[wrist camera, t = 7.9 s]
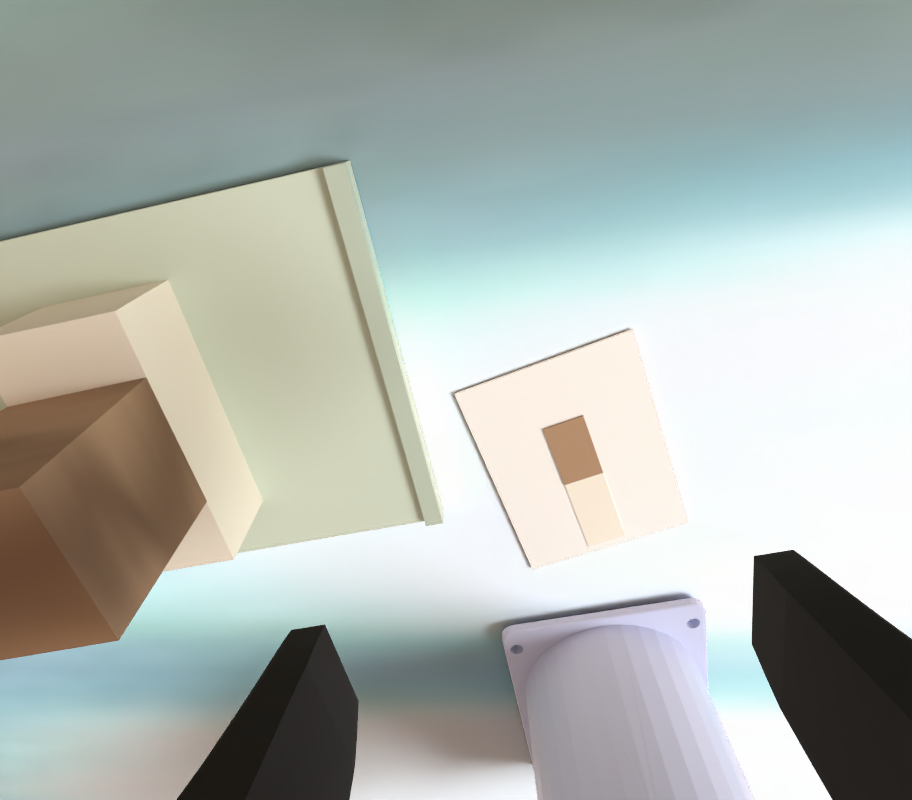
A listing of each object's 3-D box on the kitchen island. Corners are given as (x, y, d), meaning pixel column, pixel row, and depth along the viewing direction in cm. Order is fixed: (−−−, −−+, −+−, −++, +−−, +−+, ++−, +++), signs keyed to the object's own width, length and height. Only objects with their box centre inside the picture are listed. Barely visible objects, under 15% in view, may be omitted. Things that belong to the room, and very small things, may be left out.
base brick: (263, 501, 21) (234, 559, 18) (155, 520, 21) (112, 579, 18) (168, 279, 17) (115, 311, 15) (42, 306, 18) (-32, 342, 15)
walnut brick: (206, 501, 17) (118, 639, 13) (80, 525, 18) (-50, 668, 13) (146, 377, 15) (19, 487, 11) (7, 407, 16) (-171, 524, 11)
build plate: (443, 507, 22) (442, 522, 21) (88, 569, 23) (74, 585, 22) (349, 160, 17) (344, 162, 16) (-102, 264, 18) (-128, 271, 17)
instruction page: (687, 520, 22) (688, 523, 22) (532, 567, 23) (532, 571, 23) (632, 328, 19) (633, 330, 18) (454, 393, 20) (454, 395, 19)
